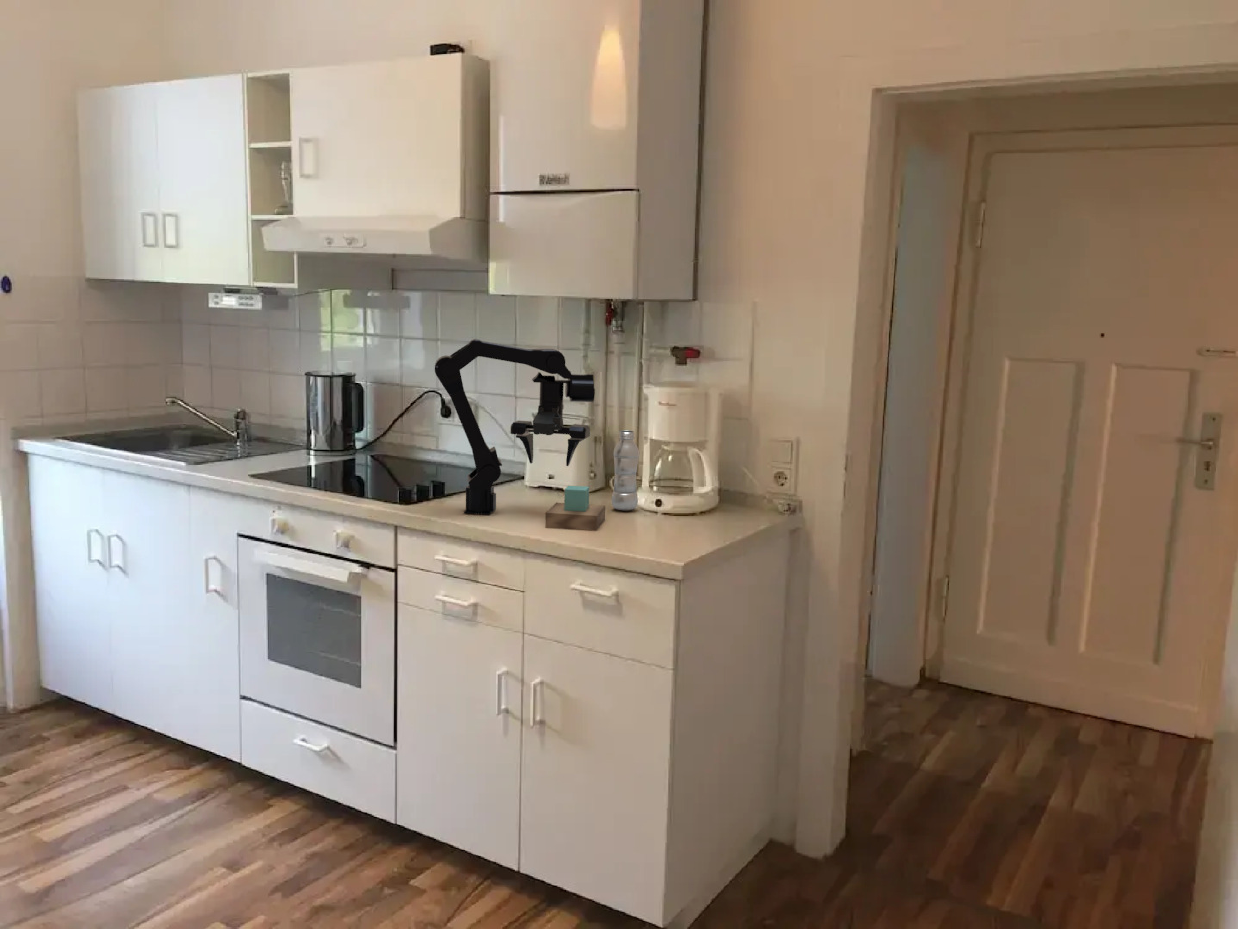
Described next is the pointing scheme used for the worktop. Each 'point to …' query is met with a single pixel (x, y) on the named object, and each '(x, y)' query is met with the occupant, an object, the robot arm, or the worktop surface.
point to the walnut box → (575, 518)
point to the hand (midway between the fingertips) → (549, 464)
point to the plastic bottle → (625, 472)
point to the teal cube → (576, 498)
